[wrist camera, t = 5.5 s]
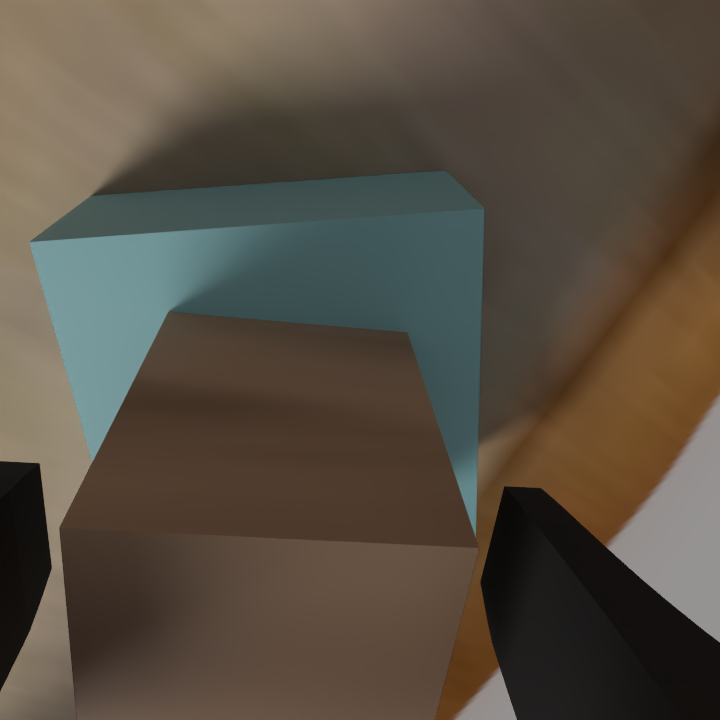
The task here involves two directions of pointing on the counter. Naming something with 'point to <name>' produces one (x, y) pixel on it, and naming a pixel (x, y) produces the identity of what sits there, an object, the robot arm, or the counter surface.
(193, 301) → the teal base box
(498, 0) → the counter surface
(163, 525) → the walnut block
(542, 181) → the counter surface
